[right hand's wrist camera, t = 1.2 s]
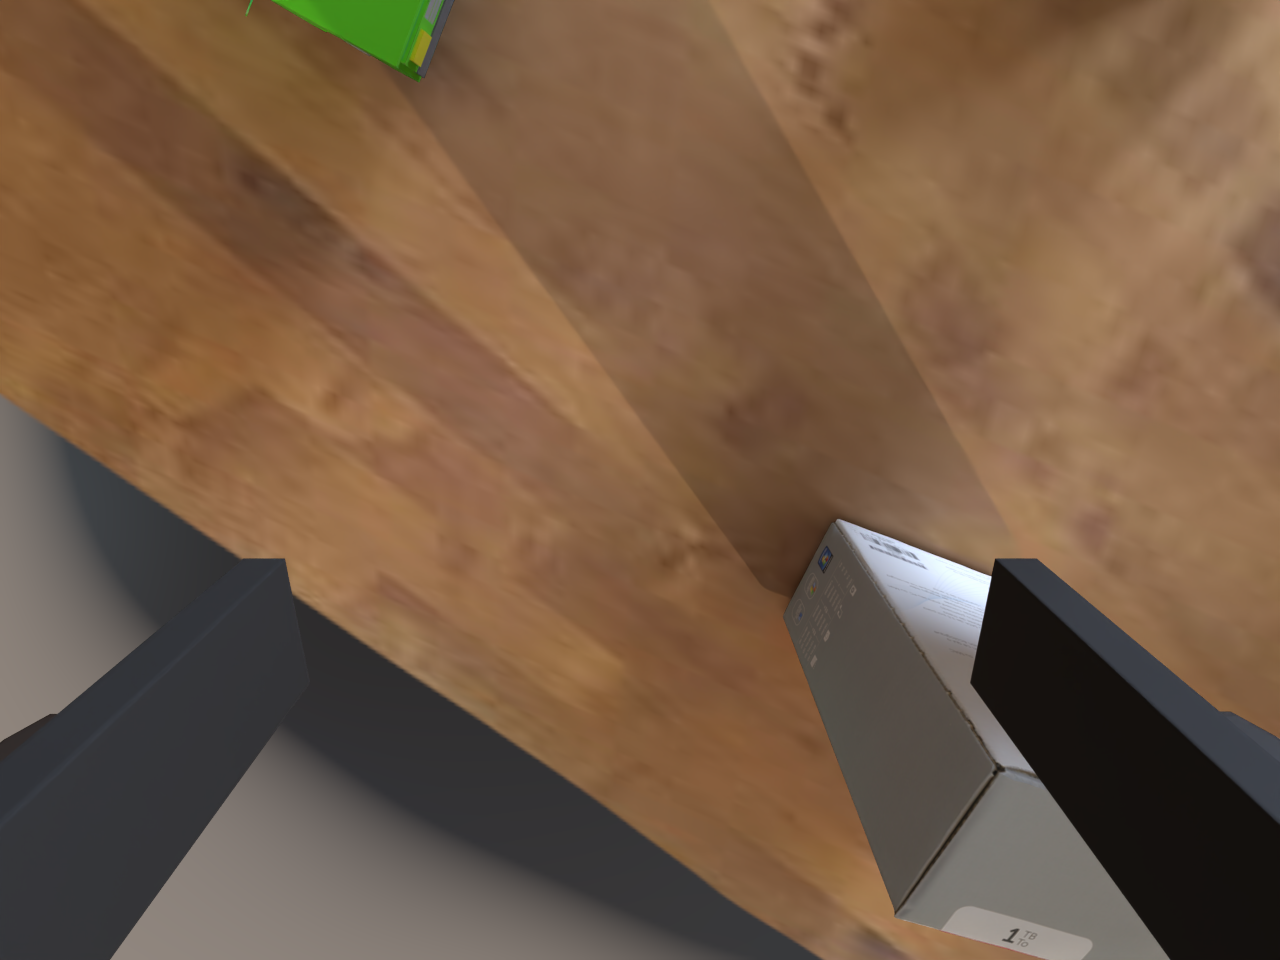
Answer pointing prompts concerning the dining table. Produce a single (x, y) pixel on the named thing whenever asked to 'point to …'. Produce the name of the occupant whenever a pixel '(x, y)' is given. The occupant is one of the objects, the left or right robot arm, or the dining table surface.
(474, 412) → the dining table surface
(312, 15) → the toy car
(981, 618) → the hard drive box
